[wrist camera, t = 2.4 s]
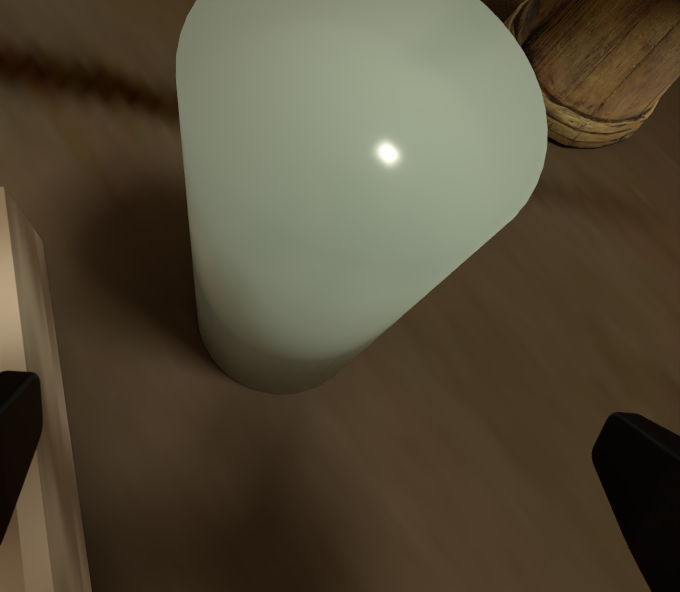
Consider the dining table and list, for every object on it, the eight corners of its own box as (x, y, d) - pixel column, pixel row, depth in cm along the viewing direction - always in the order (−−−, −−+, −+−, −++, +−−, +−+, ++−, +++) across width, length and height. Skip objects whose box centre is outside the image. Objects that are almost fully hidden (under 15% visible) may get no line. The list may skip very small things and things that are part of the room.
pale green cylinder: (380, 371, 21) (603, 225, 9) (217, 413, 19) (225, 298, 7) (336, 226, 23) (475, -60, 11) (182, 252, 21) (142, -60, 9)
